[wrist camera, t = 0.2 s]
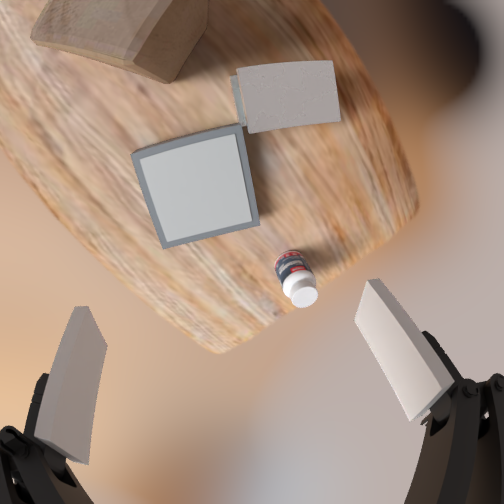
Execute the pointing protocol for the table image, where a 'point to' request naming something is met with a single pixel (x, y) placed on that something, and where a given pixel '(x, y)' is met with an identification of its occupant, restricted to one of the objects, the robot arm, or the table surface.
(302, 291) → the pill bottle
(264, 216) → the table surface
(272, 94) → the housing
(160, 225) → the stand
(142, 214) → the table surface
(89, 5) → the wooden block
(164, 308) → the table surface
